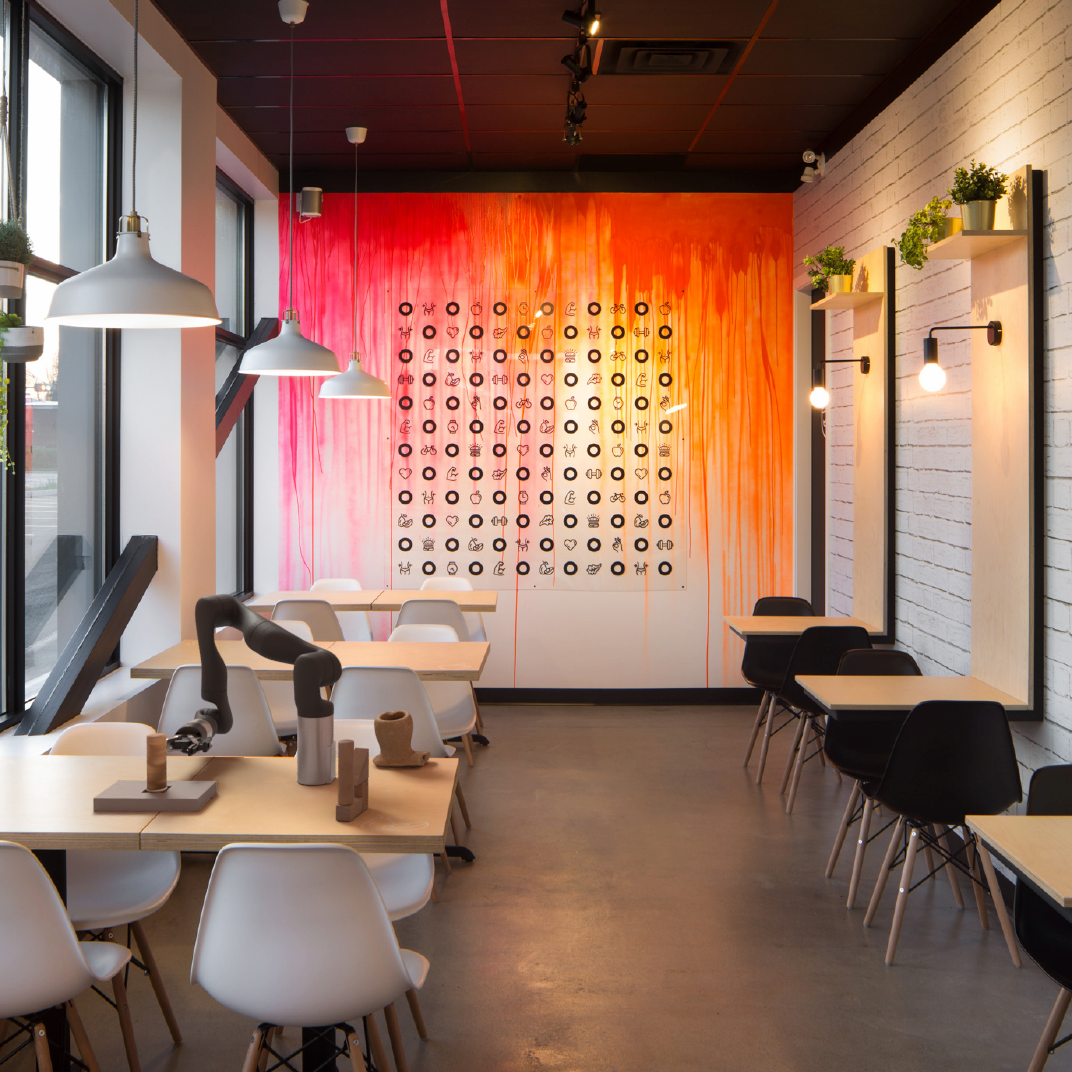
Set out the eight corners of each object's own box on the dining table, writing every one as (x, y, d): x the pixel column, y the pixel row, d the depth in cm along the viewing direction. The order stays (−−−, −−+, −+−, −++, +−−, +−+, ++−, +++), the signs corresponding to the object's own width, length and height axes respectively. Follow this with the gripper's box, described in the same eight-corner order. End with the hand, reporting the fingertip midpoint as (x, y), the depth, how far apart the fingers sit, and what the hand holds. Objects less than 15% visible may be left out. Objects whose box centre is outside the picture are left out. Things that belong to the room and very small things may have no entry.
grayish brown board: (216, 793, 238) (216, 781, 238) (197, 811, 224) (197, 798, 224) (118, 792, 238) (118, 780, 238) (93, 811, 224) (93, 798, 224)
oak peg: (170, 798, 233) (169, 733, 233) (163, 804, 229) (162, 737, 228) (150, 798, 233) (150, 733, 233) (143, 804, 229) (142, 737, 228)
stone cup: (367, 771, 258) (367, 715, 258) (377, 759, 270) (377, 706, 270) (423, 772, 257) (424, 717, 257) (431, 760, 269) (431, 707, 269)
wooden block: (369, 807, 229) (369, 732, 228) (350, 822, 218) (350, 743, 217) (354, 806, 229) (354, 731, 229) (335, 821, 219) (335, 742, 218)
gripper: (166, 721, 257) (143, 736, 240) (220, 721, 257) (200, 737, 241) (166, 749, 257) (143, 766, 241) (220, 749, 257) (200, 767, 241)
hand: (172, 752), depth 241 cm, fingers open, 8 cm apart
